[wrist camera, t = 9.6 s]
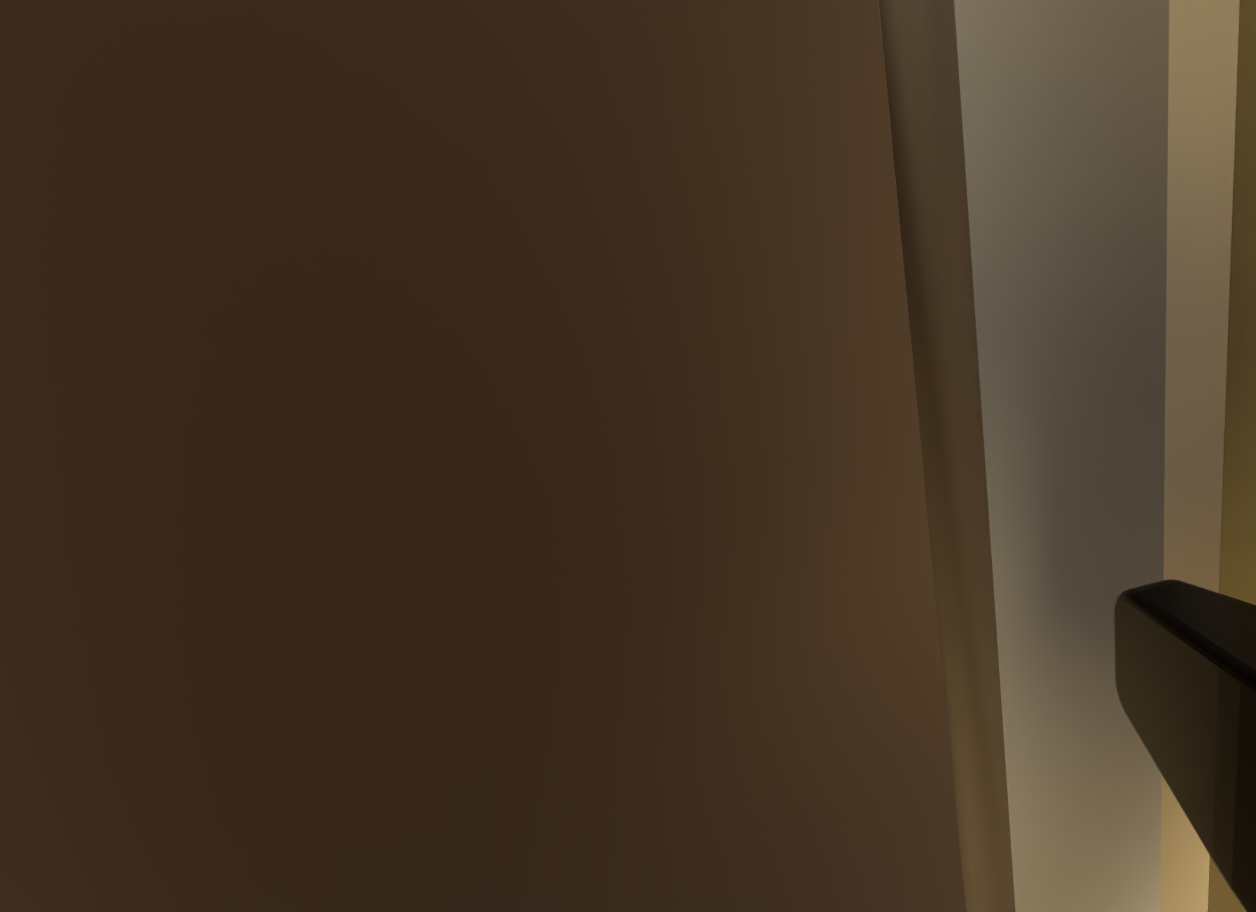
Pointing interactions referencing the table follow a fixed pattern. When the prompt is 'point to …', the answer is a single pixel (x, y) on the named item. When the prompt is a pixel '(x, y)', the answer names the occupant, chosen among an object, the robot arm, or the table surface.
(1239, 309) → the table surface
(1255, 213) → the table surface
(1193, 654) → the robot arm
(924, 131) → the tray
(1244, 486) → the table surface
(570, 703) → the brown slab
